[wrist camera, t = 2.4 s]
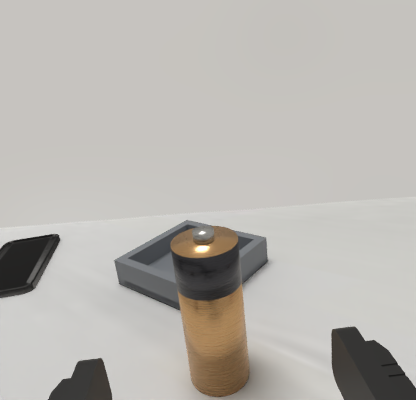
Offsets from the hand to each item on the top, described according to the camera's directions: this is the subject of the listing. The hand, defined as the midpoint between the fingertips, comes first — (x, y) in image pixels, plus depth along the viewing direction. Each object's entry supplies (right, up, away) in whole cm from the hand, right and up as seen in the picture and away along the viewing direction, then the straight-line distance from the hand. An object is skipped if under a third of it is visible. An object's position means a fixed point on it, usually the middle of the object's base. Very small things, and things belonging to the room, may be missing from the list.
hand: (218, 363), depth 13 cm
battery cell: (0, -7, +15) cm, 16 cm away
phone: (-25, -4, +35) cm, 43 cm away
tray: (-2, -3, +29) cm, 29 cm away
